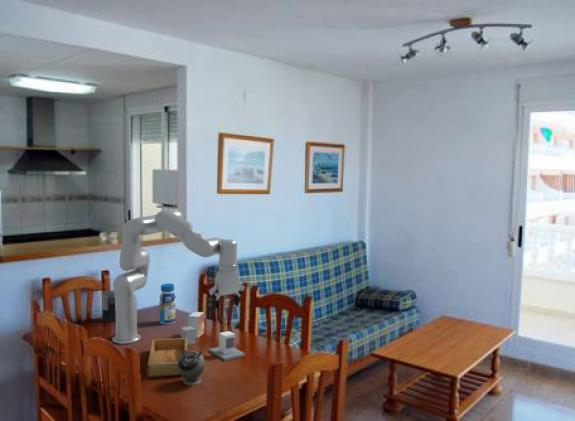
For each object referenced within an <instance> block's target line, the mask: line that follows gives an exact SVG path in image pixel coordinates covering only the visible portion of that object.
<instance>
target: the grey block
mask: <svg viewBox="0 0 575 421" xmlns="http://www.w3.org/2000/svg"><path fill="white" fill-rule="evenodd" d="M180 338H187V346H189V345H195V344H196V343H197V342H196V339H197V338H196V329H195V328H193V327H192V326H188V325H187V326H182V327H180Z"/></svg>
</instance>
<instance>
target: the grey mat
mask: <svg viewBox="0 0 575 421" xmlns="http://www.w3.org/2000/svg"><path fill="white" fill-rule="evenodd" d="M208 351H209V352H210V353H212V354H213V355H215V356H216V357H218V358H220V359H221V360H223V361H224V362H227V361H230V360H234V359H238V358H242V357H246V353H244V352H243V351H241V350H239V349H238V348H236V347H235V352H232V353H228V354H224V353H222V352H220V351H219V346H216V347H213V348H209V350H208Z"/></svg>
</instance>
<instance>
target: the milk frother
mask: <svg viewBox="0 0 575 421" xmlns="http://www.w3.org/2000/svg"><path fill="white" fill-rule="evenodd" d="M101 298H102V299H101V306H102V307H101V308H102V310H101V311H102V314H101V315H102V316H101V321H102V322H104V323H111V322H113V323H114V322H116V306H115V293H114V290H106V291H102V292H101Z"/></svg>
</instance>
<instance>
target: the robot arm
mask: <svg viewBox="0 0 575 421" xmlns="http://www.w3.org/2000/svg"><path fill="white" fill-rule="evenodd" d="M161 232H166V233H168V234H171V235H172V236H174V237H175V238H177V239H179V240H180V241H181V242H182V244H183V245H184V246H185V247H186V248H187V250H189V251H191V252H193V253H194V254H196V255H197V256H199V257H202V258H209V257H210V258H211V257H213V256H217V255H219V256H218V257H219V258H218V271H216V275H215V279H214V285H213V287H211V288H210V289H208V293H209V295H210V297H212V299H213V307H214V308H215V309H216V310H220V302H221V301H220V300H219V299H220V298H221V296H227V295H228V296H229V295H233V294H234V296H233V305H234V306H236V307H239V306H240V297H241V295H242V294H243V293H244V290H245V288H246V286H244V285H243V284H241V283H240V282H239V273H238V270H237V269H238V268H240V266H239V264H237V262H238V260H237V256H238V242H237V241H236V240H235V239H225V238H219V237H210V238H206V239H205V238H203V237H201V236H199V235H198V234H197V233H195V232H194V231H193V225H192V223H191V222H189V221H187V220H186V219H184V218H183V214H182V212H181V211H179V210H178V209H175V208H170V209H162V210H160V211H158V213H156V214H153V215H147V216H146V215H145V216H139V217H135V218H131V219H130V220H128V221H127V222H125V224H124V225H123V229H122V240H121V247H120V252H119V267H120V269H121V270H122V271H124V272H123V273H121V274H119V275H117V276H116V277H115V278H114V280H113V282H112V287H113V288H112V289H113V291H114V293H115V306H116V321H115V335H113V337H112V340H111V341H112V342H113V343H115V344H119V345H120V344H121V345H124V344H125V345H126V344H132V343H136V342H138V341H140V340H141V335H140V334H139V333H138V320H137V319H138V307H137V306H138V303H137V302H138V300H137V298H136V297H137V296H136V295H135V291H138V290H141V289H143V288H145V286H146V285H147V282H148V278H149V277H148V276H149V271H150V270H149V268H150V264H151V263H150V262H151V260H150V254H149V252H148V250H146V249H144V248H142V247H141V246H142V240H141V239H142V238H141V236H143V237H144V236H148V235H155V234H158V233H161Z"/></svg>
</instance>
